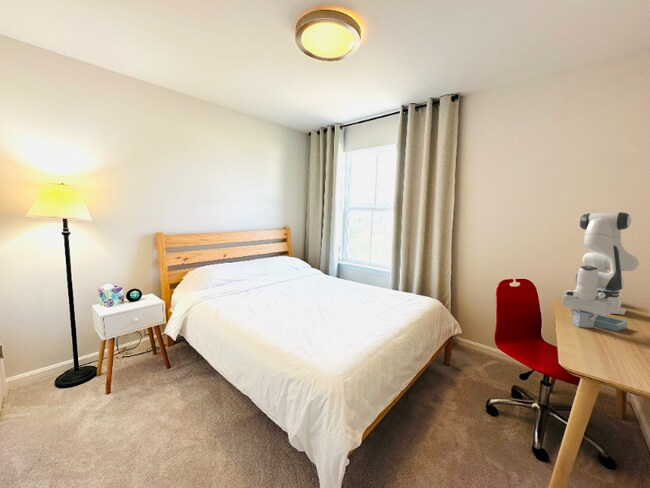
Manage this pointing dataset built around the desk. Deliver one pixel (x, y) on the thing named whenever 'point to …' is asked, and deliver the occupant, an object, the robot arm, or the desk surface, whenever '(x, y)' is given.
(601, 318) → the tray
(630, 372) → the desk surface
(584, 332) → the desk surface
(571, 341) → the desk surface
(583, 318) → the medicine box
